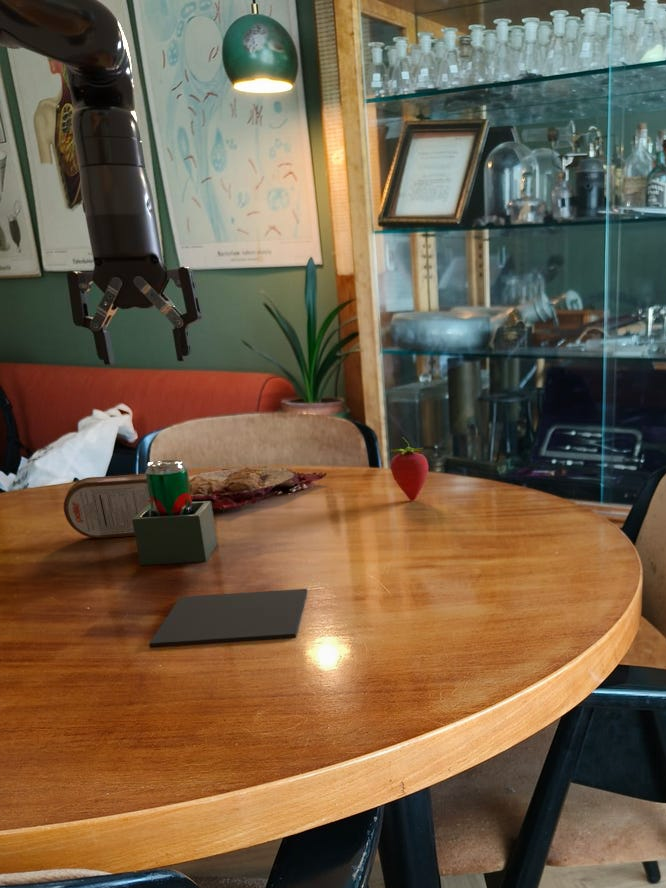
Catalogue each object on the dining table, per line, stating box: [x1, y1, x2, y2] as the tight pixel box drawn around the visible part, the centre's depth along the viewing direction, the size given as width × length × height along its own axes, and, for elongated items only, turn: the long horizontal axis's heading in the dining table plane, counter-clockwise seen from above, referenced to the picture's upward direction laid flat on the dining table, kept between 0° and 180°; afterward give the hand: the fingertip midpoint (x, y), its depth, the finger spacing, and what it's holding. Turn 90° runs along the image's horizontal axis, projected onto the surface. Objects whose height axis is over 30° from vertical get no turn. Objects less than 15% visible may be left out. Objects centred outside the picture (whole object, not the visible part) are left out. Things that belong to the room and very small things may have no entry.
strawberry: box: [389, 436, 429, 502], centre depth 138 cm, size 6×8×10 cm
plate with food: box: [188, 466, 327, 512], centre depth 149 cm, size 24×26×3 cm
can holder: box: [132, 500, 218, 566], centre depth 114 cm, size 8×8×6 cm
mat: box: [148, 588, 308, 648], centre depth 92 cm, size 14×14×1 cm
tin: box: [63, 473, 151, 539], centre depth 124 cm, size 15×3×8 cm, turn 102°
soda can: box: [144, 459, 194, 517], centre depth 113 cm, size 5×5×12 cm
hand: (146, 362), depth 106 cm, fingers open, 8 cm apart
